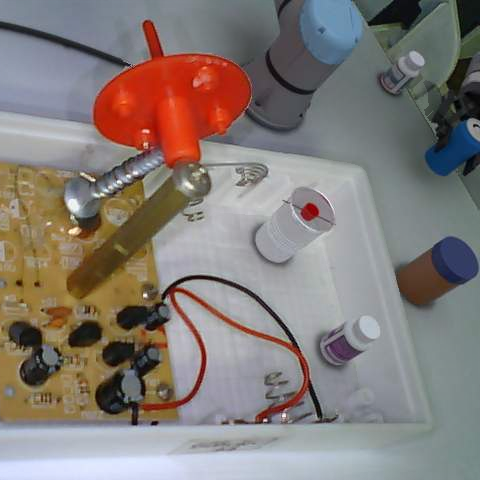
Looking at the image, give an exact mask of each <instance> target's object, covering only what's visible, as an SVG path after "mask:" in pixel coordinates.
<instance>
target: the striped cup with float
mask: <svg viewBox="0 0 480 480" xmlns="http://www.w3.org/2000/svg"><path fill="white" fill-rule="evenodd" d="M281 201H282V202H283V203H282V204H281V205H280V206H279V207H278V208H277V209H276V210H275V211H274V212H273V213H272V214H271V216H270V217H268V219H267V220H266V221H265V222H264V223H263V225H262V226H260V228H258V230H257V231H256V233H255V238H254V240H255V245H256V249H258V251H259V253H260V254H261V255H262V256H263V258H265V259H267V260H268V261H270V262H272V263H275V264H276V263H277V264H279V263H284V262H286V261H288V260H289V259H290V258H291V257H293V256H294V255H296V254H297V253H299V252H300V251H302V250H303V249H304V248H306V247H307V246H309V245H310V244H311V243H313V242H314V241H316V239H318V238H319V237H320V236H322V235H323V234H325V233H328V232H330V231H331V230H332V229H333V228H334V226H336V225H337V224H336V212H335V209H334V207H333V205H332V203H331V202H330V200H329V199H328V198H327V196H326V195H325V194H323V193H322V192H321V191H319V190H317V189H316V188H314V187H311V186H308V185H307V186H306V185H303V186H298V187H296V188H294V189H293V191H292V193H291V194H290V196H289V197H288V198H286V200H285V199H282V200H281ZM258 240H259V241H258ZM259 243H260V244H259ZM260 245H261V246H260Z"/></svg>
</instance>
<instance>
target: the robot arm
mask: <svg viewBox="0 0 480 480" xmlns="http://www.w3.org/2000/svg"><path fill="white" fill-rule="evenodd" d="M353 1H354V0H273V2H274V8H275V12H276V17H277V21H278V27H279V30H280V31H279V35H278V37H276V39H275V40H274V42H272V44H271V45H270V47H269V48H268V49H267V50H266V51H264V52H263V53H261V54H259V55H258V56H257V57H255V58H254V59H251V60H249V61H247V62H246V63H244V64H243V65H242V66H241V68H242V69H243V70H244V71H245V72H246V74H247V75H248V77H249V79H250V82H251V84H252V99H251V102H250V104H249V106H248V108H247V109H246V110H244V111H245V113H246V114H248V116H249V117H251V119H253V120H254V121H256V122H257V123H258V124H260V125H261V126H264V127H266V128H269V129H271V130H276V131H290V130H292V129H294V128H295V127H297V126H298V125H299V123H300V122H302V121H303V119H304V117H305V116H306V114H307V111H308V109H310V107H311V104H312V103H311V102H312V99H313V97H314V94H315V93H316V91H317V90H318V89H319V88H321V86H322V85H323V84H324V83H325V82H326V81H327V80H328V79H329V78H330V77H331V76H332V75H333V73H335V71H337V69H338V68H339V67H341V65H343V63H344V62H345V61H347V59H349V58H350V57H351V55H352V54H353V52H354V51H355V49H356V48H357V46H359V44H360V42H361V40H362V38H363V34H364V33H363V32H364V24H363V18H362V16H361V14H360V12H359V9H358V7H356V6H354V5H352V4H353ZM0 28H4V29H10V30H14V31H18V32H22V33H27V34H30V35H34V36H39V37H41V38H45V39H48V40H51V41H55V42H58V43H61V44H64V45H67V46H70V47H73V48H76V49H79V50H82V51H84V52H87V53H90V54H93V55H96V56H98V57H101V58H104V59H106V60H109V61H112V62H113V63H117V64H120V65H123V66H124V67H125V66H126V67H127V68H130V67H131V66H130V65H131V64H128V63H126V62H123V60H124V59H123V60H121V59H122V58H121V57H118V56H115V55H112V54H110V53H107V52H104V51H102V50H99V49H96V48H93V47H91V46H87V45H85V44H83V43H79V42H77V41H73V40H71V39H68V38H64V37H61V36H59V35H55V34H52V33H49V32H46V31H42V30H38V29H34V28H31V27H27V26H23V25H20V24H15V23H11V22H5V21H2V20H0ZM469 62H470V63H469V64H468V67H467V70H466V73H465V76H464V79H463V82H462V84H461V87H460V89H459V92H458V94H457V96H456V93H455V91H454V89H452V88H450V89H449V90H448V91H447V92H445V93H444V94H443V95H442V96H441V102H440V104H439V106H438V108H437V109H436V111H435V113H434V114H433V116H432V118H431V123H433V124H437V126H436V127H435V128H434V132H435V137H436V138H437V141H436V143H437V144H436V146H435V149H434V152H435V153H438V152H439V151H440V150H442V149H443V148H444V147H445V146H447V143H448V140H449V138H450V135H451V133H452V130H453V129H454V126H453V124H455V123H456V122H457V121H460V123H461V122H462V121H465V120H468V119H470V118H474V119H477V120H479V121H480V50H478V51H477V52H476V53H475V54H474V56H473V57H472V59H471V60H470V61H469ZM129 66H130V67H129ZM132 66H133V65H132ZM241 68H240V69H241ZM452 105H453V109H454V111H455V113H453V114H452V115H450V116H448V118H446V117H445V116H446V115H447V113H448V111H449V110H450V108H451V106H452ZM479 165H480V151H479V152H478V153H477V154H475V155H474V156H473V157H471V158H470V159H469V160H467V161H466V162H465V163H464V168H463V170H462V173H461V175H462V176H464V177H466V176H468V175H470V174H471V173H472V172H474V171H475V170H476V169H477V167H479Z"/></svg>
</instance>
